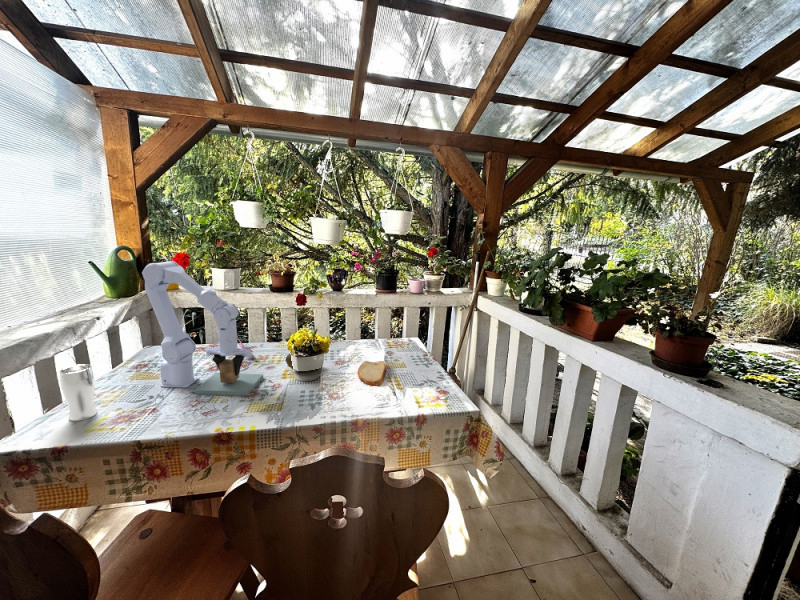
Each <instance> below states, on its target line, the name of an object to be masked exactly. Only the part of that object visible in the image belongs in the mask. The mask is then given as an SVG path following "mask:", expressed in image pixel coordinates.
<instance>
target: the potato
mask: <svg viewBox="0 0 800 600" xmlns="http://www.w3.org/2000/svg"><path fill="white" fill-rule="evenodd" d="M285 362H286V364H287V367H289V369H292V370H294V369H293V366H292V361H291V355H290V353H288V354H287V356H286V357H285Z"/></svg>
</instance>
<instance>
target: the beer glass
mask: <svg viewBox="0 0 800 600" xmlns="http://www.w3.org/2000/svg"><path fill="white" fill-rule="evenodd" d="M93 372H94V371H93V368H92V365H91V364H88V363H84V364H73V365H71V366H67V367H64V368H61V369H60V370H59V377H60V386H61V390H62V394H63V396H64V398H65V400H66V402H67V404H68V407H69V415H68V419H69V421H72V422H80V421H85V420H88V419H91V418H93V417H94V416H96V415H97V414H98V409H97V407H96V405H95V399H94V397H95V385H96V383H95V376H94V373H93Z"/></svg>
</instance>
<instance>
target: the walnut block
mask: <svg viewBox="0 0 800 600" xmlns="http://www.w3.org/2000/svg"><path fill="white" fill-rule="evenodd" d="M232 359H233V358H232ZM232 359H231V358H230V359H229V358H228V359H227V358H226V359H225V360H224V361H223V362H221V363H220V364H219V368H218V370H219V369H220V371H219V373H220V380H221V383H234V382H235V381H236V380H237V379H238V378H239V374H240V373H239V374H238V375H237V376H235V370H234V364H233V361H232Z"/></svg>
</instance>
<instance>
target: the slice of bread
mask: <svg viewBox="0 0 800 600" xmlns="http://www.w3.org/2000/svg"><path fill="white" fill-rule="evenodd" d="M386 365H387V364H386V363H385V361H383V360H380V361H368V360H367V361H363V362H362V363H361V364H360V365H359V366H358V369H357V378H358V377H359V378H358V380H359V379H360V380H359V381H360V382H361V383H362V382H363V384H364V385H366V386H368V385H369V387H373V386H378V387H381V386H382V385H381V384H383V383H384V380H385V377H386V373H387V366H386ZM380 385H381V386H380Z"/></svg>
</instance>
